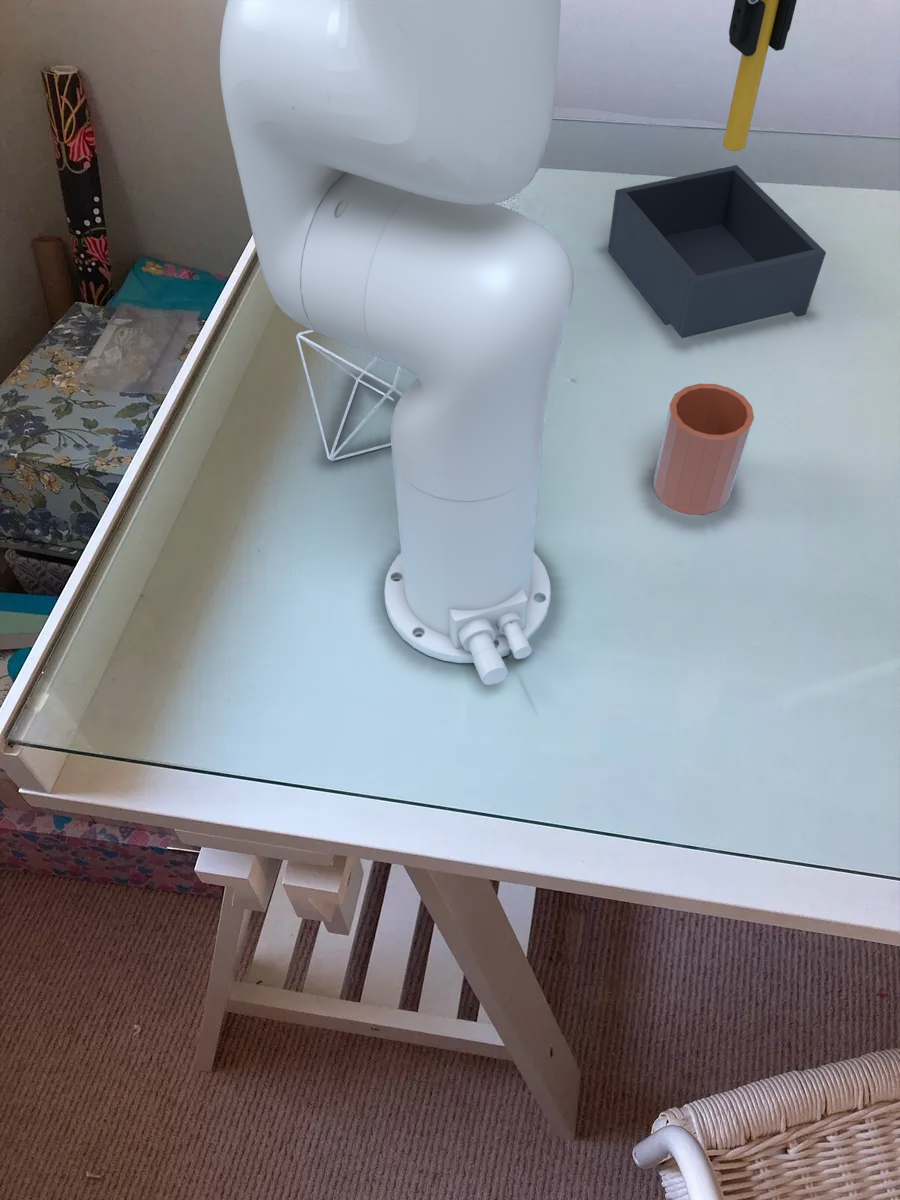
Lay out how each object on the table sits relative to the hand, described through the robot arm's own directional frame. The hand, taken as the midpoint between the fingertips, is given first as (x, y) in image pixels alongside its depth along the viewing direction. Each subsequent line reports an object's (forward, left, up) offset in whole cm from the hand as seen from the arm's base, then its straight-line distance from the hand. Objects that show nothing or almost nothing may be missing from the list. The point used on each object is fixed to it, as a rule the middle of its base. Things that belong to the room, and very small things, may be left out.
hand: (756, 44), depth 79 cm
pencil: (0, 0, -9) cm, 9 cm away
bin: (0, 0, -23) cm, 23 cm away
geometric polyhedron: (-9, +37, -23) cm, 44 cm away
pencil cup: (-26, +15, -23) cm, 38 cm away
